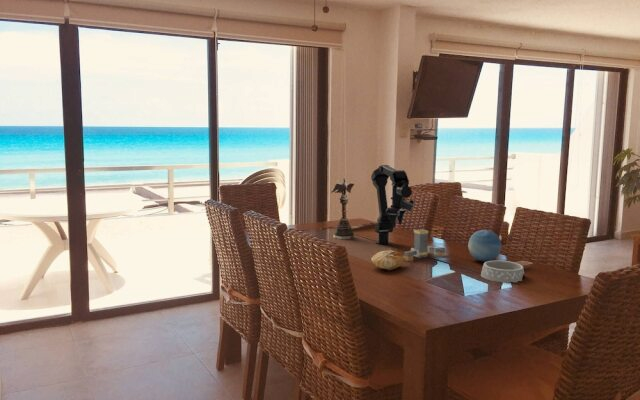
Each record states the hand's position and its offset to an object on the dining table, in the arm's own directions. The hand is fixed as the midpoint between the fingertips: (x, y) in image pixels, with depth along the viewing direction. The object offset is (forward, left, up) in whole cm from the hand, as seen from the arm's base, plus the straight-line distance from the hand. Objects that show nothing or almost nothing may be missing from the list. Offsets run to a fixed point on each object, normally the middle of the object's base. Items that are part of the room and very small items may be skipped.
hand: (397, 225), depth 280 cm
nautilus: (+34, +10, -13) cm, 38 cm away
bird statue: (-19, -40, -13) cm, 46 cm away
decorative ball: (+2, +44, -13) cm, 46 cm away
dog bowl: (+25, +56, -14) cm, 63 cm away
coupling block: (+7, +15, -13) cm, 21 cm away
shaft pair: (+8, +17, -13) cm, 23 cm away
